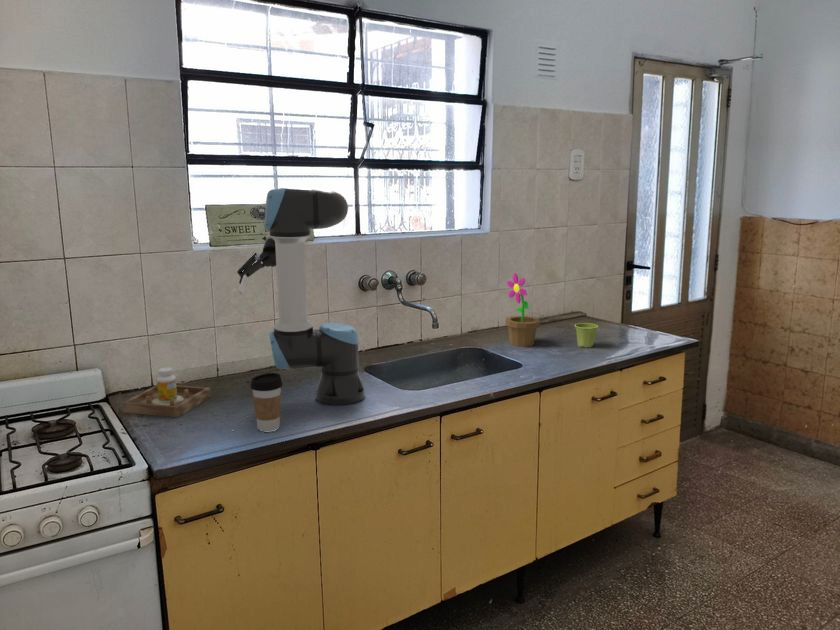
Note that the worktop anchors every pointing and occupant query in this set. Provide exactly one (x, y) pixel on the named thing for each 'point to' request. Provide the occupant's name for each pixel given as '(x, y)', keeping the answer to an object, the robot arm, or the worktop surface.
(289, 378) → the worktop surface
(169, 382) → the supplement bottle
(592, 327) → the plant pot
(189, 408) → the pin tray
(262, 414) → the coffee cup
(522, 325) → the flowerpot
